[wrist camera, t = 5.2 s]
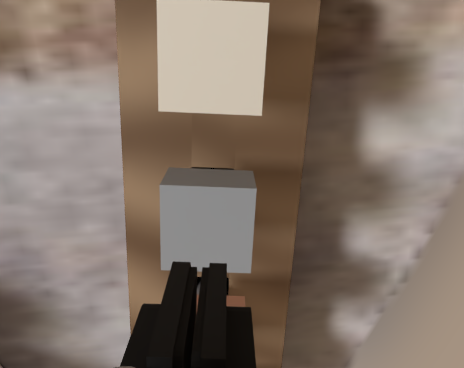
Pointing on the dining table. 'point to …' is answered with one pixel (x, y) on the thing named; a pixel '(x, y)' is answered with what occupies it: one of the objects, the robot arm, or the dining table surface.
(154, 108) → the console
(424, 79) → the dining table surface
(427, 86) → the dining table surface
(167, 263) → the slate-grey key
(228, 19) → the cream rectangular block
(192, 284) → the robot arm
